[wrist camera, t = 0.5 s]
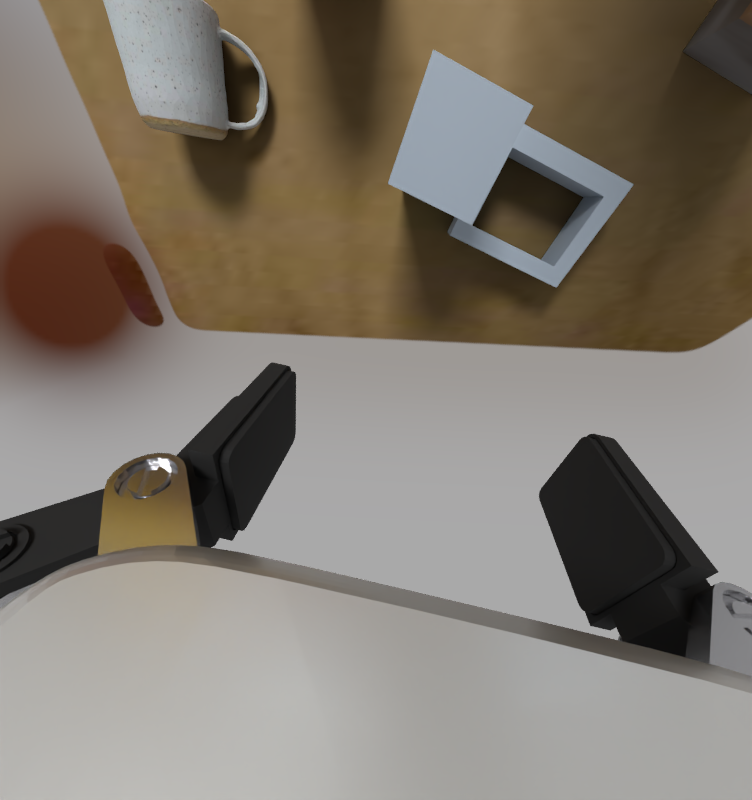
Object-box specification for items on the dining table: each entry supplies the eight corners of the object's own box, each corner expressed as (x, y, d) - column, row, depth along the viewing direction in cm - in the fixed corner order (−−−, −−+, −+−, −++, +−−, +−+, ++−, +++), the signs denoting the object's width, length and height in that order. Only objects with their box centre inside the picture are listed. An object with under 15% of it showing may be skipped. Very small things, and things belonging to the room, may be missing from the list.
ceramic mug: (177, 137, 30) (113, 121, 24) (151, 13, 26) (63, -48, 19) (276, 151, 30) (238, 137, 24) (269, 27, 25) (218, -31, 19)
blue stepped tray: (438, 93, 26) (448, 6, 14) (609, 186, 28) (739, 175, 16) (396, 206, 31) (379, 209, 19) (543, 279, 33) (606, 320, 21)
